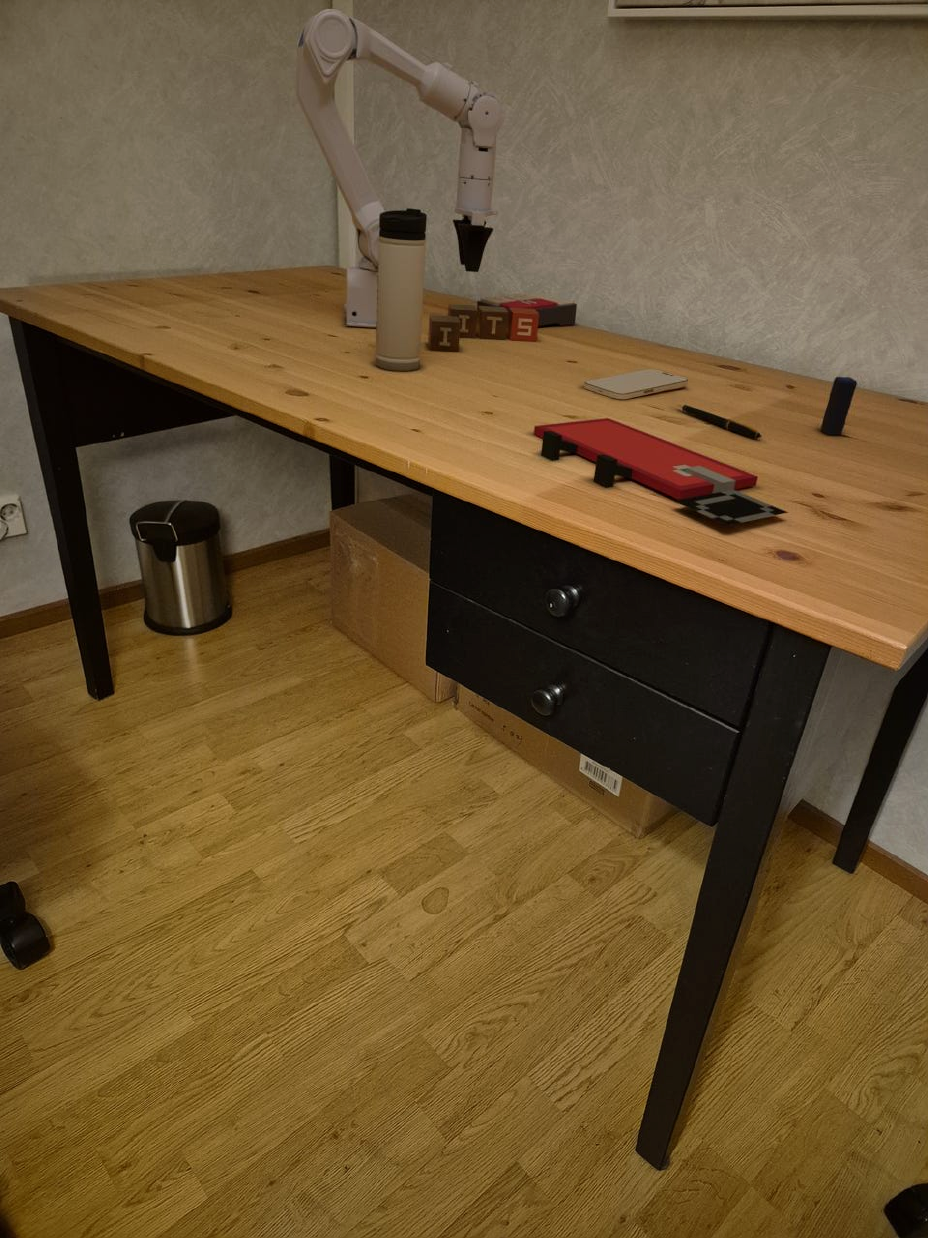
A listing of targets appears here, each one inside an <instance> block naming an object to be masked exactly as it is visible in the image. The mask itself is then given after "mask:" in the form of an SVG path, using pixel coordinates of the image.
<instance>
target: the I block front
mask: <svg viewBox="0 0 928 1238" xmlns="http://www.w3.org/2000/svg"><path fill="white" fill-rule="evenodd" d="M460 325H461V322H460V320H459V319H458V317H451V316H448V315H434V314H430V315H429V321H428V339H427V345H428V349H429V351H432V352H449V353H450V352H452V353H459V352H460V340H461V339H460V338H461V337H460Z"/></svg>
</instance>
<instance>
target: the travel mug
mask: <svg viewBox="0 0 928 1238" xmlns="http://www.w3.org/2000/svg"><path fill="white" fill-rule="evenodd" d="M427 219H428V216H427V214H426V213H425V212H422V210H421V209H419V208H412V207H411V208H410V207H407V208H405V209H397V210H395V209H394V210H387V211H385V212H382V213H380V215H379V228H380V230H379V236H378V239H379V242H378V275H377V317H376V327H375V361H374V363H375V365H376V366H377V367H378V368H380V369H383V370H385V371H392V372H412V371H415V370H418V369H419V368H420V367H421V356H420V355H421V351H422V349H421V348H422V330H423V329H422V328H423V309H424V291H425V289H424V287H425V270H426V269H425V268H426V243H427V234H426V232H427Z"/></svg>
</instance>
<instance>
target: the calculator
mask: <svg viewBox="0 0 928 1238" xmlns="http://www.w3.org/2000/svg"><path fill="white" fill-rule="evenodd" d="M476 303H477V304H476V308H477V310H478V307H479V306H490V307H504V308H505V309H506V310H507V311H508V312H509V308H525V309H535V310H536V311H537V312H538V313H539V321H538V327H541V326H548V325H556V326H559V327H565V326H571V325H575V324H576V317H577V309H578V304H577V303H575V301H572V300H568V299H565V298H561V297H557V296H554V295H549V294H545V293H542V292H530V293H522V292H521V293H513V294H505V295H496V296H487V297H486V296H485V297H481V298H480V300H477V301H476ZM507 323H508V321H507Z"/></svg>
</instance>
